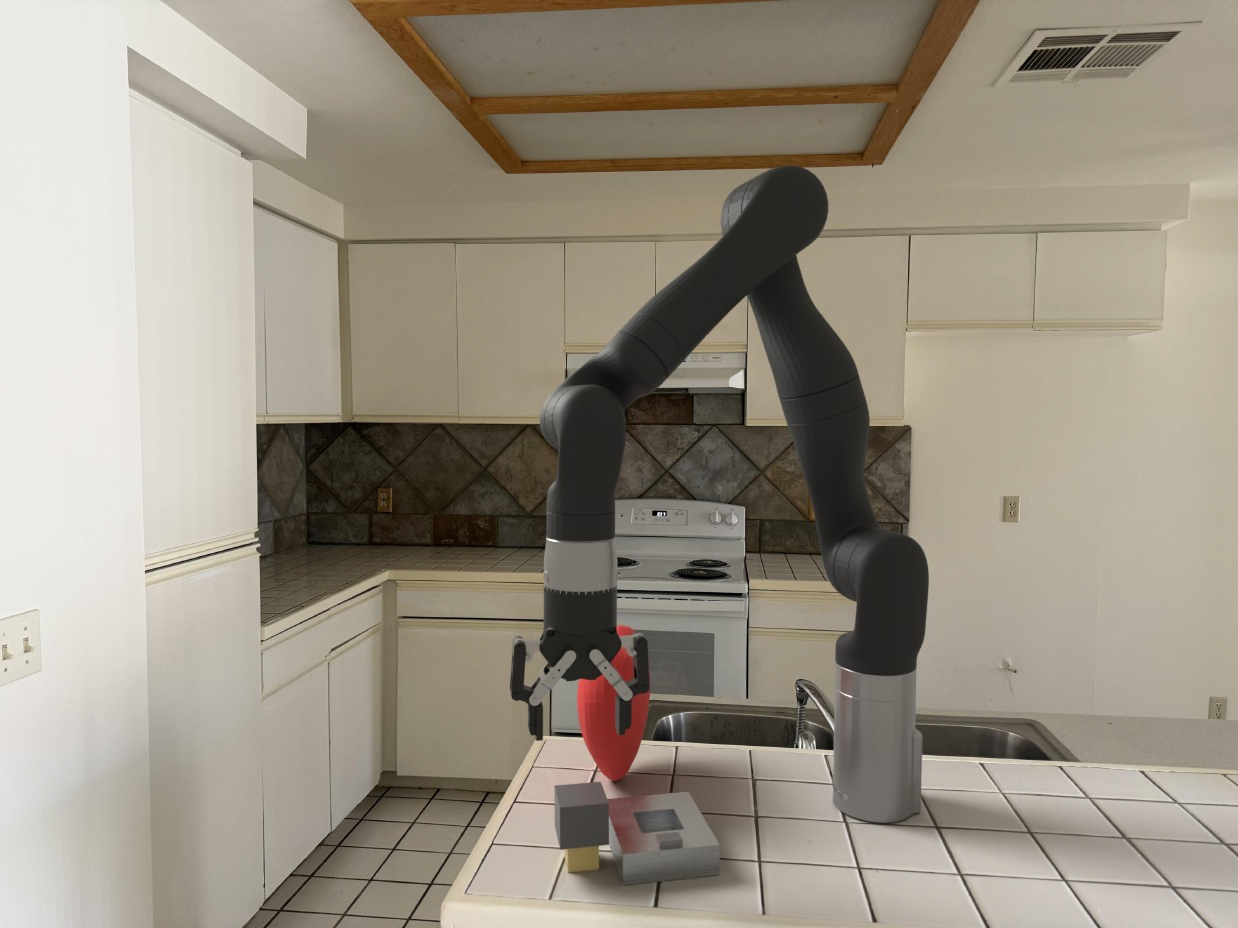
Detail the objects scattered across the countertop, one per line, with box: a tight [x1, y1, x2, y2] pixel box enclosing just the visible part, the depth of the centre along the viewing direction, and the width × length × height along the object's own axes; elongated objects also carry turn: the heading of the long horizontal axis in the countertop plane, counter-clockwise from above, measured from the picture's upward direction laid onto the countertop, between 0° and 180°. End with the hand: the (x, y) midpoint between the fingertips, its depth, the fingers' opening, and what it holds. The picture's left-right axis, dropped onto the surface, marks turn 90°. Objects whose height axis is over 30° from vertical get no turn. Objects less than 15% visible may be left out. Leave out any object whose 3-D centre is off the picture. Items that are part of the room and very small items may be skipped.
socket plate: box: [607, 791, 721, 886], centre depth 91 cm, size 10×12×4 cm
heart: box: [576, 624, 651, 782], centre depth 108 cm, size 20×9×19 cm, turn 172°
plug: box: [553, 781, 610, 873], centre depth 89 cm, size 5×5×7 cm
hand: (579, 735), depth 88 cm, fingers open, 8 cm apart
